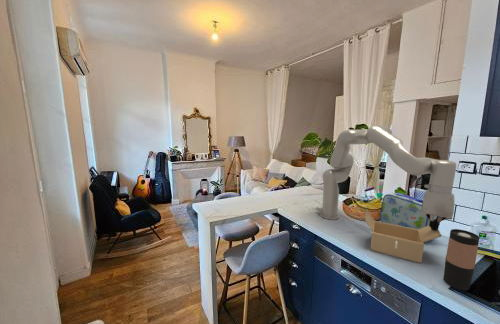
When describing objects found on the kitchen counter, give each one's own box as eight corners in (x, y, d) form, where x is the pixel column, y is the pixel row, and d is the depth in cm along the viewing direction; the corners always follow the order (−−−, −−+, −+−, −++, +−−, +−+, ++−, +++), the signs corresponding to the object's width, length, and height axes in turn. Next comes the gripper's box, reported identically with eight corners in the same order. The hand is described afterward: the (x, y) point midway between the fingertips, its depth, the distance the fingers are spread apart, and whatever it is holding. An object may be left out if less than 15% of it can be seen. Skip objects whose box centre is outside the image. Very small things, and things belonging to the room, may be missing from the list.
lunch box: (438, 241, 111) (444, 202, 107) (424, 245, 107) (430, 205, 104) (390, 221, 135) (393, 188, 131) (377, 223, 131) (381, 190, 128)
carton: (370, 252, 100) (371, 234, 99) (372, 236, 116) (373, 220, 114) (422, 266, 90) (425, 247, 89) (416, 246, 106) (419, 229, 104)
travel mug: (438, 274, 85) (445, 227, 82) (462, 278, 83) (470, 230, 80) (449, 288, 78) (458, 237, 75) (476, 293, 76) (486, 240, 73)
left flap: (373, 230, 102) (372, 230, 102) (374, 220, 113) (373, 220, 113) (364, 217, 103) (363, 217, 103) (366, 208, 114) (365, 209, 114)
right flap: (440, 235, 88) (441, 236, 88) (434, 223, 99) (435, 224, 99) (422, 241, 92) (423, 242, 92) (418, 229, 103) (419, 230, 103)
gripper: (419, 188, 92) (413, 228, 96) (466, 194, 85) (458, 237, 88) (417, 184, 99) (411, 221, 102) (461, 189, 91) (453, 230, 94)
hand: (433, 229), depth 95 cm, fingers closed
